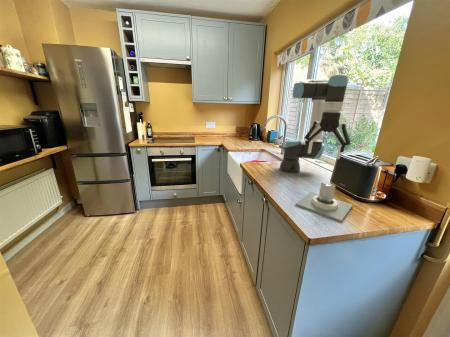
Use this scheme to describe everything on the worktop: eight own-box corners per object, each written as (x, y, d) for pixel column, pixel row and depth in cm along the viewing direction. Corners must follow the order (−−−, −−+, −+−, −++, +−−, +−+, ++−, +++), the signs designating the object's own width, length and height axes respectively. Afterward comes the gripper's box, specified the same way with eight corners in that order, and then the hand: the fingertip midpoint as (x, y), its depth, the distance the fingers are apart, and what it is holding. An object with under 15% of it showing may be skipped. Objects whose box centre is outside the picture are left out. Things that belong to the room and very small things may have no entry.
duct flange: (310, 193, 106) (311, 188, 105) (352, 206, 92) (353, 200, 92) (295, 205, 92) (296, 199, 91) (341, 222, 79) (342, 216, 78)
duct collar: (315, 203, 92) (319, 184, 89) (319, 200, 96) (323, 181, 93) (328, 208, 88) (333, 188, 85) (332, 204, 92) (337, 185, 89)
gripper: (302, 110, 93) (295, 152, 100) (362, 113, 77) (349, 162, 84) (307, 110, 98) (301, 150, 105) (365, 112, 82) (353, 159, 89)
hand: (322, 155), depth 95 cm, fingers open, 13 cm apart
